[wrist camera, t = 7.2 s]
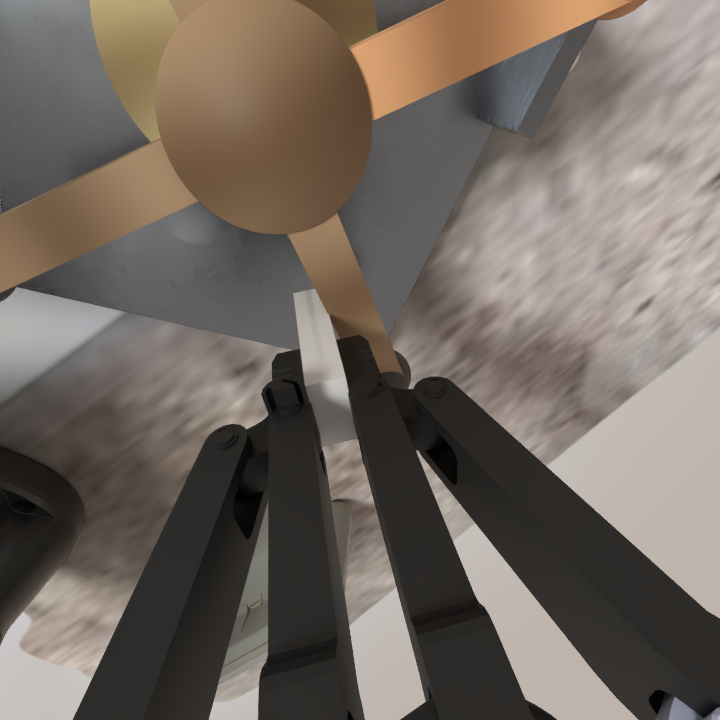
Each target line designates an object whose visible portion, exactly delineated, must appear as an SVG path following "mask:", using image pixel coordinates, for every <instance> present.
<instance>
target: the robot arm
mask: <svg viewBox="0 0 720 720" xmlns="http://www.w3.org/2000/svg"><path fill="white" fill-rule="evenodd" d="M293 295H294V303H295V311H296V319H297V327H298V335H299V343H300V349H297V350H293V351H288V352H284V353H279V354H277V355H276V357H275V358H274V360H273V362H272V381H271V382H269V383H268V384H267V385H266V386H265V387H264V388H263V390H262V393H261V395H262V398H263V400H264V403H265V406H266V408H267V411H268V414H269V415H268V416H267V417H266V418H265V419H264V420H263V421H262V422H260V423H258V424H257V425H255V426H253V427H251V428H249V429H245V428H244V427H243V426H241V425H236V424H231V425H225V426H223V427H221V428H218V429H216V430H215V431H214V432H213V433H211V434H210V435H209V436H208V438H207V439H206V441H205V443H204V445H203V447H202V449H201V451H200V453H199V455H198V457H197V459H196V461H195V464H194V466H193V468H192V470H191V472H190V474H189V476H188V478H187V480H186V483H185V485H184V487H183V489H182V491H181V493H180V495H179V497H178V499H177V501H176V504H175V506H174V508H173V510H172V512H171V514H170V516H169V518H168V520H167V523H166V525H165V527H164V529H163V531H162V533H161V535H160V537H159V539H158V541H157V544H156V546H155V548H154V550H153V552H152V554H151V556H150V558H149V560H148V563H147V565H146V567H145V569H144V571H143V573H142V575H141V577H140V579H139V581H138V584H137V586H136V588H135V590H134V592H133V594H132V596H131V598H130V600H129V602H128V605H127V607H126V609H125V611H124V613H123V615H122V617H121V619H120V621H119V624H118V626H117V628H116V630H115V632H114V634H113V636H112V638H111V640H110V642H109V645H108V647H107V649H106V651H105V653H104V655H103V657H102V659H101V661H100V664H99V666H98V668H97V670H96V672H95V674H94V676H93V678H92V680H91V683H90V685H89V687H88V689H87V691H86V693H85V695H84V697H83V699H82V702H81V703H80V706H79V708H78V710H77V712H76V714H75V716H74V718H73V720H209V716H210V712H211V709H212V705H213V701H214V697H215V694H216V690H217V686H218V683H219V679H220V675H221V672H222V668H223V664H224V661H225V657H226V653H227V650H228V646H229V642H230V639H231V635H232V631H233V628H234V624H235V620H236V617H237V613H238V609H239V606H240V602H241V598H242V595H243V591H244V587H245V583H246V580H247V576H248V572H249V569H250V565H251V561H252V558H253V554H254V550H255V547H256V543H257V539H258V536H259V532H260V528H261V525H262V521H263V517H264V514H265V510H266V506H267V503H268V656H267V661H266V663H265V665H264V666H263V668H262V670H261V675H260V681H259V704H258V720H365V718H364V713H363V708H362V703H361V699H360V694H359V689H358V684H357V677H356V670H355V663H354V657H353V650H352V643H351V636H350V629H349V622H348V615H347V608H346V601H345V594H344V587H343V580H342V573H341V566H340V559H339V553H338V546H337V539H336V532H335V525H334V518H333V511H332V504H331V497H330V490H329V483H328V476H327V469H326V462H325V457H324V453H323V450H322V446H326V445H330V444H335V443H339V442H343V441H348V440H352V439H356V438H358V440H359V445H360V450H361V455H362V459H363V464H364V465H365V469H366V472H367V476H368V480H369V484H370V488H371V491H372V495H373V499H374V503H375V507H376V510H377V514H378V518H379V522H380V526H381V529H382V533H383V537H384V541H385V545H386V548H387V552H388V556H389V560H390V564H391V567H392V571H393V575H394V579H395V583H396V586H397V590H398V594H399V598H400V601H401V605H402V609H403V613H404V617H405V621H406V624H407V628H408V631H409V635H410V639H411V643H412V647H413V651H414V654H415V659H416V662H417V666H418V670H419V674H420V679H421V683H422V687H423V692H424V696H425V700H426V702H425V703H424V704H422V705H421V706H419V707H418V708H416V709H415V710H414V711H412V712H411V713H409V714H408V715H406V716H405V717H404V718H402V719H401V720H557V719H555V718H554V717H553V716H552V715H550V714H549V713H547V712H546V711H544V710H543V709H541V708H539V707H538V706H537V705H535V704H533V703H531V702H529V701H527V700H525V698H524V695H523V693H522V691H521V688H520V686H519V683H518V681H517V679H516V676H515V674H514V672H513V669H512V667H511V665H510V662H509V660H508V657H507V655H506V653H505V650H504V648H503V645H502V643H501V641H500V638H499V636H498V634H497V631H496V629H495V627H494V624H493V622H492V620H491V618H490V616H489V614H488V613H487V611H486V609H485V607H483V606H482V605H481V604H480V603H479V602H478V600H477V599H476V596H475V594H474V592H473V590H472V587H471V585H470V582H469V580H468V577H467V575H466V573H465V570H464V568H463V565H462V563H461V561H460V558H459V556H458V553H457V551H456V548H455V546H454V543H453V541H452V538H451V536H450V533H449V531H448V529H447V526H446V524H445V521H444V519H443V516H442V514H441V511H440V509H439V507H438V504H437V502H436V499H435V497H434V494H433V492H432V489H431V487H430V485H429V482H428V480H427V477H426V475H425V472H424V470H423V467H422V465H421V463H420V460H419V458H418V455H417V453H416V450H419V452H420V454H421V456H422V457H423V458H424V459H425V461H426V462H427V463H428V464H429V466H430V467H431V468H432V469H433V471H434V472H435V473H436V474H437V476H438V477H439V478H440V479H441V481H442V482H443V483H444V484H445V486H446V487H447V488H448V489H449V491H450V492H451V493H452V494H453V496H454V497H455V498H456V499H457V501H458V502H459V503H460V504H461V506H462V507H463V508H464V509H465V511H466V512H467V513H468V514H469V516H470V517H471V518H472V519H473V521H474V522H475V523H476V524H477V526H478V527H479V528H480V529H481V531H482V532H483V533H484V534H485V535H486V537H487V538H488V539H489V541H490V542H491V543H492V544H493V546H494V547H495V548H496V549H497V551H498V552H499V553H500V554H501V556H502V557H503V558H504V559H505V561H506V562H507V563H508V564H509V566H510V567H511V568H512V569H513V571H514V572H515V573H516V574H517V576H518V577H519V578H520V579H521V581H522V582H523V583H524V585H525V586H526V587H527V588H528V589H529V591H530V592H531V593H532V594H533V596H534V597H535V598H536V600H537V601H538V602H539V603H540V605H541V606H542V607H543V608H544V609H545V611H546V612H547V613H548V614H549V616H550V617H551V618H552V620H553V621H554V622H555V623H556V624H557V626H558V627H559V628H560V630H561V631H562V632H563V633H564V634H565V636H566V637H567V638H568V640H569V641H570V642H571V643H572V645H573V646H574V647H575V648H576V650H577V651H578V652H579V653H580V654H581V656H582V657H583V658H584V660H585V661H586V662H587V663H588V665H589V666H590V667H591V668H592V670H593V671H594V672H595V673H596V674H597V676H598V677H599V678H600V679H601V680H602V681H603V683H604V684H605V685H606V686H607V687H608V688H609V690H610V691H611V692H612V693H613V694H614V695H615V696H616V698H618V700H619V701H620V702H621V703H622V704H623V705H625V707H626V708H627V709H628V710H630V711H631V712H632V714H634V715H635V717H637V719H639V720H720V618H718V617H716V616H715V615H713V614H711V613H709V612H708V611H706V610H705V609H704V608H703V607H702V606H701V605H700V604H698V603H697V602H696V601H695V600H694V599H693V598H692V597H691V596H690V595H688V594H687V593H686V592H685V591H684V590H683V589H682V588H681V587H680V586H679V585H677V584H676V583H675V582H674V581H673V580H672V579H671V578H670V577H669V576H667V575H666V574H665V573H664V572H663V571H662V570H660V568H659V567H657V566H656V565H655V564H654V563H653V562H652V561H651V560H650V559H649V558H647V557H646V556H645V555H644V554H643V553H642V552H641V551H640V550H638V549H637V548H636V547H635V546H634V545H633V544H632V543H631V542H630V541H628V540H627V539H626V538H625V537H624V536H623V535H622V534H621V533H620V532H618V531H617V530H616V529H615V528H614V527H613V526H612V525H611V524H610V523H608V522H607V521H606V520H605V519H604V518H603V517H602V516H601V515H600V514H598V513H597V512H596V511H595V510H594V509H593V508H592V507H591V506H590V505H588V504H587V503H586V502H585V501H584V500H583V499H582V498H581V497H580V496H578V495H577V494H576V493H575V492H574V491H573V490H572V489H571V488H570V487H568V486H567V485H566V484H565V483H564V482H563V481H562V480H561V479H560V478H558V477H557V476H556V475H555V474H554V473H553V472H552V471H551V470H550V469H548V468H547V467H546V466H545V465H544V464H543V463H542V462H541V461H540V460H538V459H537V458H536V457H535V456H534V455H533V454H532V453H531V452H530V451H528V450H527V449H526V448H525V447H524V446H523V445H522V444H521V443H520V442H518V441H517V440H516V439H515V438H514V437H513V436H512V435H511V434H510V433H508V432H507V431H506V430H505V429H504V428H503V427H502V426H501V425H500V424H498V423H497V422H496V421H495V420H494V419H493V418H492V417H491V416H490V415H488V414H487V413H486V412H485V411H484V410H483V409H482V408H481V407H480V406H478V405H477V404H476V403H475V402H474V401H473V400H472V399H471V398H470V397H468V396H467V395H466V394H465V393H464V392H463V391H462V390H461V389H460V388H458V387H457V386H456V385H455V384H454V383H453V382H451V381H450V380H448V379H446V378H442V377H428V378H424V379H422V380H420V381H419V382H417V384H416V385H415V387H414V389H398V388H394V387H391V386H389V385H388V384H387V382H386V381H384V380H383V378H382V376H381V373H380V371H379V368H378V366H377V363H376V360H375V358H374V356H373V353H372V350H371V347H370V345H369V342H368V340H366V339H365V338H364V337H362V336H361V335H356V336H352V337H347V338H343V339H338V340H336V339H335V335H334V331H333V328H332V324H331V320H330V317H329V314H327V312H326V310H325V308H324V306H323V304H322V302H321V300H320V298H319V296H318V294H317V292H316V290H315V289H311V290H306V291H301V292H296V293H293ZM321 444H322V445H321ZM83 521H84V510H83V506H82V503H81V501H80V499H79V497H78V495H77V494H76V493H75V491H74V490H73V489H72V488H71V487H70V486H69V485H68V484H67V483H66V482H65V481H64V480H63V479H62V478H60V477H59V476H58V475H56V474H55V473H53V472H52V471H50V470H49V469H47V468H45V467H44V466H42V465H40V464H38V463H36V462H34V461H32V460H30V459H27V458H25V457H23V456H20V455H18V454H15V453H12V452H9V451H6V450H3V449H0V644H1V642H2V640H3V638H4V636H5V634H6V632H7V631H8V629H9V628H10V626H11V625H12V624H13V623H14V622H15V620H16V619H17V618H18V617H19V616H20V614H21V613H22V612H23V611H24V610H25V608H26V607H27V606H28V605H29V604H30V602H31V601H32V600H33V599H34V597H35V596H36V595H37V594H38V593H39V591H40V590H41V589H42V588H43V587H44V585H45V584H46V583H47V582H48V581H49V579H50V578H51V577H52V576H53V575H54V573H55V572H56V571H57V570H58V569H59V567H60V566H61V565H62V564H63V563H64V561H65V560H66V559H67V557H68V556H69V554H70V552H71V551H72V549H73V547H74V544H75V542H76V540H77V537H78V535H79V532H80V530H81V527H82V525H83Z"/></svg>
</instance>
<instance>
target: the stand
mask: <svg viewBox="0 0 720 720" xmlns="http://www.w3.org/2000/svg"><path fill="white" fill-rule="evenodd" d="M443 1H445V0H373V2H374V7H375V11H376V20H377V29H378V33H379V32H381V31H383V30H385V29H387V28H389V27H391V26H393V25H395V24H397V23H400V22H402V21H404V20H406V19H408V18H410V17H412V16H414V15H416V14H418V13H420V12H422V11H424V10H427V9H429V8H431V7H433V6H435V5H437V4H439V3H441V2H443ZM596 22H597V19H592V20H590V21H588V22H586V23H584V24H581V25H579V26H577V27H575V28H573V29H571V30H568V31H566V32H564V33H562V34H560V35H558V36H555V37H553V38H551V39H549V40H547V41H545V42H542V43H540V44H538V45H536V46H534V47H532V48H529V49H527V50H525V51H523V52H521V53H519V54H516V55H514V56H512V57H510V58H508V59H506V60H503V61H501V62H499V63H497V64H495V65H493V66H490V67H488V68H486V69H484V70H482V71H480V72H477V73H475V74H473V75H471V76H469V77H467V78H464V79H462V80H460V81H458V82H456V83H454V84H451V85H449V86H447V87H445V88H443V89H441V90H438V91H436V92H434V93H432V94H430V95H428V96H425V97H423V98H421V99H419V100H417V101H415V102H412V103H410V104H408V105H406V106H404V107H402V108H399V109H397V110H395V111H393V112H391V113H389V114H386V115H384V116H382V117H380V118H378V119H376V120H373V121H372V139H371V148H370V152H369V157H368V161H367V164H366V167H365V170H364V173H363V175H362V177H361V179H360V181H359V183H358V185H357V187H356V189H355V190H354V192H353V193H352V195H351V196H350V197H349V199H348V200H347V201H346V202H345V203H344V205H343V206H342V207H341V208H340V209H338V210H337V213H338V216H339V218H340V221H341V223H342V226H343V228H344V231H345V233H346V235H347V238H348V240H349V243H350V245H351V248H352V250H353V252H354V255H355V257H356V260H357V262H358V265H359V267H360V270H361V272H362V274H363V277H364V279H365V282H366V284H367V287H368V289H369V292H370V294H371V296H372V299H373V301H374V304H375V306H376V309H377V311H378V313H379V316H380V318H381V321H382V323H383V326H384V328H385V331H386V333H387V335H388V336H389V334H390V332H391V330H392V328H393V326H394V324H395V322H396V320H397V318H398V316H399V314H400V312H401V310H402V308H403V306H404V304H405V302H406V300H407V298H408V296H409V294H410V292H411V290H412V288H413V286H414V284H415V282H416V280H417V278H418V276H419V274H420V272H421V270H422V268H423V266H424V264H425V262H426V261H427V259H428V257H429V255H430V253H431V251H432V249H433V247H434V245H435V243H436V241H437V239H438V237H439V235H440V233H441V231H442V229H443V227H444V225H445V223H446V221H447V219H448V217H449V215H450V213H451V211H452V209H453V207H454V205H455V203H456V201H457V199H458V197H459V195H460V193H461V191H462V189H463V187H464V185H465V183H466V181H467V179H468V177H469V175H470V173H471V171H472V169H473V167H474V165H475V163H476V161H477V159H478V157H479V155H480V153H481V151H482V149H483V147H484V145H485V143H486V141H487V139H488V137H489V135H490V133H491V131H492V129H493V127H497V128H500V129H503V130H507V131H510V132H513V133H516V134H519V135H522V136H525V137H529V138H533V136H534V134H535V132H536V130H537V128H538V127H539V125H540V123H541V121H542V119H543V118H544V116H545V114H546V112H547V110H548V109H549V107H550V105H551V103H552V101H553V100H554V98H555V96H556V94H557V92H558V91H559V89H560V87H561V85H562V83H563V82H564V80H565V78H566V76H567V74H568V73H569V72H570V71H571V70H572V69H573V68H574V67H575V65H576V64H577V62H578V60H579V57H580V53H581V49H582V47H583V46H584V44H585V42H586V40H587V38H588V36H589V35H590V33H591V31H592V29H593V27H594V26H595V24H596ZM148 143H150V140H149V139H148V138H147V137H146V136H145V135H144V134H143V132H142V131H141V130H140V129H139V128H138V127H137V125H136V124H135V122H134V121H133V119H132V118H131V117H130V115H129V114H128V112H127V111H126V110H125V108H124V106H123V104H122V103H121V101H120V99H119V97H118V96H117V94H116V92H115V90H114V88H113V86H112V84H111V82H110V79H109V77H108V75H107V73H106V70H105V68H104V65H103V62H102V59H101V56H100V53H99V50H98V47H97V43H96V39H95V34H94V30H93V25H92V20H91V11H90V2H89V0H0V192H1V206H2V214H3V213H5V212H7V211H9V210H11V209H13V208H15V207H17V206H19V205H21V204H23V203H25V202H27V201H30V200H32V199H34V198H36V197H38V196H40V195H42V194H44V193H46V192H48V191H50V190H52V189H54V188H57V187H59V186H61V185H63V184H65V183H67V182H69V181H71V180H73V179H75V178H77V177H79V176H82V175H84V174H86V173H88V172H90V171H92V170H94V169H96V168H98V167H100V166H102V165H104V164H106V163H109V162H111V161H113V160H115V159H117V158H119V157H121V156H123V155H125V154H127V153H129V152H131V151H133V150H136V149H138V148H140V147H142V146H144V145H146V144H148ZM16 287H20V288H24V289H28V290H33V291H37V292H41V293H46V294H50V295H55V296H59V297H63V298H68V299H72V300H77V301H81V302H85V303H90V304H94V305H98V306H103V307H107V308H112V309H116V310H120V311H125V312H129V313H133V314H138V315H142V316H147V317H151V318H155V319H160V320H164V321H169V322H173V323H177V324H182V325H186V326H190V327H195V328H199V329H204V330H208V331H212V332H217V333H221V334H225V335H230V336H234V337H239V338H243V339H247V340H252V341H256V342H261V343H265V344H269V345H274V346H278V347H282V348H287V349H291V350H297V349H300V343H299V335H298V327H297V319H296V311H295V303H294V295H293V293H296V292H301V291H306V290H311V289H315V288H314V286H313V284H312V282H311V280H310V278H309V276H308V274H307V272H306V270H305V268H304V266H303V264H302V262H301V260H300V258H299V256H298V254H297V252H296V250H295V248H294V246H293V244H292V242H291V240H290V239H289V237H288V235H287V234H264V233H258V232H253V231H249V230H246V229H243V228H240V227H238V226H235V225H233V224H231V223H229V222H227V221H225V220H223V219H222V218H220V217H218V216H217V215H215V214H214V213H212V212H211V211H210V210H208V209H207V208H206V207H205V206H204V205H203V204H201V203H200V202H199V201H198V202H196V203H194V204H192V205H189V206H187V207H185V208H183V209H181V210H179V211H176V212H174V213H172V214H170V215H168V216H166V217H163V218H161V219H159V220H157V221H155V222H153V223H150V224H148V225H146V226H144V227H142V228H140V229H137V230H135V231H133V232H131V233H129V234H127V235H124V236H122V237H120V238H118V239H116V240H114V241H111V242H109V243H107V244H105V245H103V246H101V247H98V248H96V249H94V250H92V251H90V252H88V253H85V254H83V255H81V256H79V257H77V258H75V259H72V260H70V261H68V262H66V263H64V264H62V265H59V266H57V267H55V268H53V269H51V270H49V271H46V272H44V273H42V274H40V275H38V276H36V277H33V278H31V279H29V280H27V281H25V282H23V283H20V284H18V285H17V286H16ZM331 324H332V322H331ZM332 328H333V331H334V335H335V339H336V340H338V339H340V337H339V335H338V333H337V331H336V329H335V327H334V326H333V324H332Z"/></svg>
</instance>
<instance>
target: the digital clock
mask: <svg viewBox="0 0 720 720" xmlns="http://www.w3.org/2000/svg"><path fill="white" fill-rule="evenodd" d="M331 504H332V511H333V518H334V525H335V532H336V539H337V546H338V553H339V559H340V566H341V573H342V580H343V587H344V593H345V584H346V575H347V566H348V556H349V547H350V538H351V528H352V513H351V507H350V506H349V505H348V504H347V503H345V502H341V501H336V502H331ZM267 656H268V503H267V506H266V510H265V514H264V517H263V521H262V525H261V528H260V532H259V536H258V539H257V543H256V547H255V550H254V554H253V558H252V561H251V565H250V569H249V572H248V576H247V580H246V583H245V587H244V591H243V595H242V598H241V602H240V606H239V609H238V613H237V617H236V620H235V624H234V628H233V631H232V635H231V639H230V642H229V646H228V650H227V653H226V657H225V661H224V664H223V668H222V672H221V675H220V679H219V683H218V685H219V684H221V683H223V682H225V681H227V680H229V679H231V678H232V677H234V676H236V675H238V674H240V673H242V672H243V671H245V670H247V669H249V668H251V667H252V666H254V665H256V664H258V663H260V662H262V661H263V660H265V659H267Z"/></svg>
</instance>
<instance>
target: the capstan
mask: <svg viewBox="0 0 720 720" xmlns="http://www.w3.org/2000/svg"><path fill="white" fill-rule="evenodd" d="M645 1H647V0H445V1H443V2H441V3H439V4H437V5H435V6H433V7H431V8H429V9H427V10H424V11H422V12H420V13H418V14H416V15H414V16H412V17H410V18H408V19H406V20H404V21H402V22H400V23H397V24H395V25H393V26H391V27H389V28H387V29H385V30H383V31H381V32H379V33H378V29H377V20H376V11H375V7H374V2H373V0H89V2H90V11H91V20H92V25H93V30H94V34H95V39H96V43H97V47H98V50H99V53H100V56H101V59H102V62H103V65H104V68H105V70H106V73H107V75H108V77H109V79H110V82H111V84H112V86H113V88H114V90H115V92H116V94H117V96H118V97H119V99H120V101H121V103H122V104H123V106H124V108H125V110H126V111H127V112H128V114H129V115H130V117H131V118H132V119H133V121H134V122H135V124H136V125H137V127H138V128H139V129H140V130H141V131H142V132H143V134H144V135H145V136H146V137H147V138H148V139H149V140H150V143H148V144H146V145H144V146H142V147H140V148H138V149H136V150H133V151H131V152H129V153H127V154H125V155H123V156H121V157H119V158H117V159H115V160H113V161H111V162H109V163H106V164H104V165H102V166H100V167H98V168H96V169H94V170H92V171H90V172H88V173H86V174H84V175H82V176H79V177H77V178H75V179H73V180H71V181H69V182H67V183H65V184H63V185H61V186H59V187H57V188H54V189H52V190H50V191H48V192H46V193H44V194H42V195H40V196H38V197H36V198H34V199H32V200H30V201H27V202H25V203H23V204H21V205H19V206H17V207H15V208H13V209H11V210H9V211H7V212H5V213H3V214H0V302H1V301H3V300H5V299H6V298H7V297H8V296H10V295H11V293H12V292H13V291H14V290H15V288H16V286H17V285H18V284H20V283H23V282H25V281H27V280H29V279H31V278H33V277H36V276H38V275H40V274H42V273H44V272H46V271H49V270H51V269H53V268H55V267H57V266H59V265H62V264H64V263H66V262H68V261H70V260H72V259H75V258H77V257H79V256H81V255H83V254H85V253H88V252H90V251H92V250H94V249H96V248H98V247H101V246H103V245H105V244H107V243H109V242H111V241H114V240H116V239H118V238H120V237H122V236H124V235H127V234H129V233H131V232H133V231H135V230H137V229H140V228H142V227H144V226H146V225H148V224H150V223H153V222H155V221H157V220H159V219H161V218H163V217H166V216H168V215H170V214H172V213H174V212H176V211H179V210H181V209H183V208H185V207H187V206H189V205H192V204H194V203H196V202H198V201H199V202H200V203H201V204H203V205H204V206H205V207H206V208H207V209H208V210H210V211H211V212H212V213H214V214H215V215H217V216H218V217H220V218H222V219H223V220H225V221H227V222H229V223H231V224H233V225H235V226H238V227H240V228H243V229H246V230H249V231H253V232H258V233H264V234H287V235H288V237H289V239H290V240H291V242H292V244H293V246H294V248H295V250H296V252H297V254H298V256H299V258H300V260H301V262H302V264H303V266H304V268H305V270H306V272H307V274H308V276H309V278H310V280H311V282H312V284H313V286H314V288H315V290H316V292H317V294H318V296H319V298H320V300H321V302H322V304H323V306H324V308H325V310H326V312H327V314H329V317H330V320H331V322H332V324H333V326H334V327H335V329H336V331H337V333H338V335H339V337H340V339H343V338H347V337H352V336H356V335H361V336H362V337H364V338H365V339H366V340H368V342H369V345H370V347H371V350H372V353H373V356H374V358H375V360H376V363H377V366H378V368H379V371H380V373H381V376H382V378H383V380H384V381H386V382H387V384H388V385H389V386H391V387H394V388H398V389H408V387H409V385H410V381H411V370H410V367H409V364H408V362H407V361H406V359H405V358H404V357H403V356H402V355H401V354H400V353H398V352H397V351H395V350H393V348H392V345H391V343H390V340H389V338H388V335H387V333H386V331H385V328H384V326H383V323H382V321H381V318H380V316H379V313H378V311H377V309H376V306H375V304H374V301H373V299H372V296H371V294H370V292H369V289H368V287H367V284H366V282H365V279H364V277H363V274H362V272H361V270H360V267H359V265H358V262H357V260H356V257H355V255H354V252H353V250H352V248H351V245H350V243H349V240H348V238H347V235H346V233H345V231H344V228H343V226H342V223H341V221H340V218H339V216H338V213H337V210H338V209H340V208H341V207H342V206H343V205H344V203H345V202H346V201H347V200H348V199H349V197H350V196H351V195H352V193H353V192H354V190H355V189H356V187H357V185H358V183H359V181H360V179H361V177H362V175H363V173H364V170H365V167H366V164H367V161H368V157H369V152H370V148H371V139H372V121H373V120H376V119H378V118H380V117H382V116H384V115H386V114H389V113H391V112H393V111H395V110H397V109H399V108H402V107H404V106H406V105H408V104H410V103H412V102H415V101H417V100H419V99H421V98H423V97H425V96H428V95H430V94H432V93H434V92H436V91H438V90H441V89H443V88H445V87H447V86H449V85H451V84H454V83H456V82H458V81H460V80H462V79H464V78H467V77H469V76H471V75H473V74H475V73H477V72H480V71H482V70H484V69H486V68H488V67H490V66H493V65H495V64H497V63H499V62H501V61H503V60H506V59H508V58H510V57H512V56H514V55H516V54H519V53H521V52H523V51H525V50H527V49H529V48H532V47H534V46H536V45H538V44H540V43H542V42H545V41H547V40H549V39H551V38H553V37H555V36H558V35H560V34H562V33H564V32H566V31H568V30H571V29H573V28H575V27H577V26H579V25H581V24H584V23H586V22H588V21H590V20H592V19H597V20H611V19H616V18H619V17H622V16H624V15H626V14H628V13H630V12H632V11H634V10H635V9H637V8H638V7H639V6H641V5H642V4H643V3H644V2H645Z"/></svg>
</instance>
